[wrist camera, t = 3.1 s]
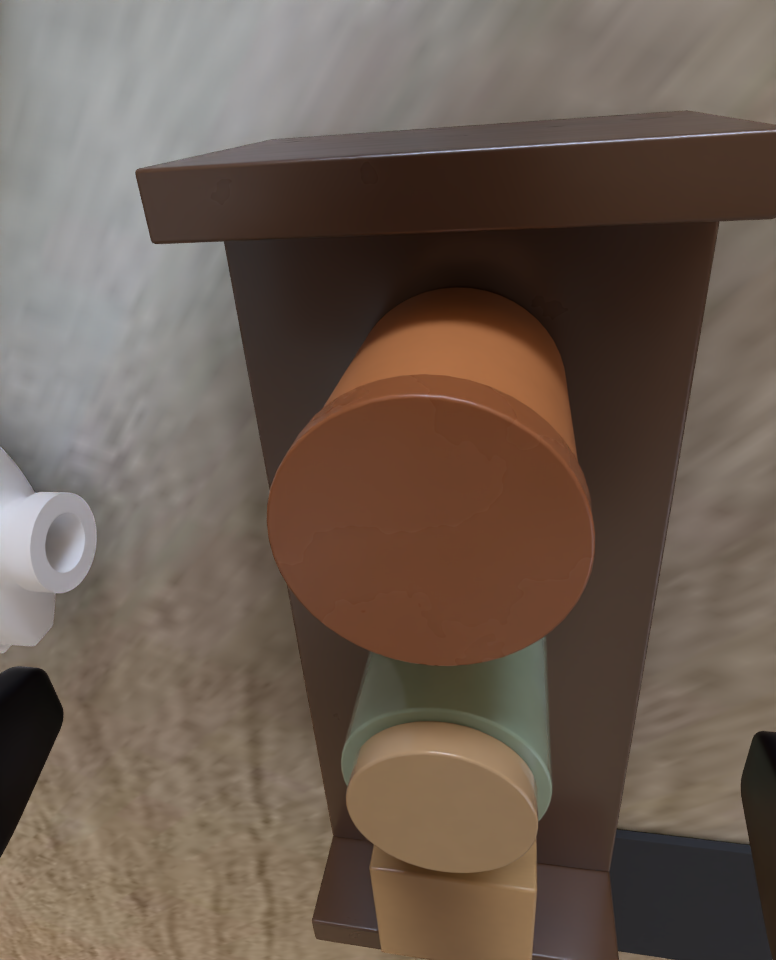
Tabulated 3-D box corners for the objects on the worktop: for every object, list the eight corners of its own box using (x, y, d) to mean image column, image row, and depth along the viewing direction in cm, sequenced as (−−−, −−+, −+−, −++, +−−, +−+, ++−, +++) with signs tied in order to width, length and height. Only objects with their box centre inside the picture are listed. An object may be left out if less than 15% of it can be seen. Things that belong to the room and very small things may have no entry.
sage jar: (550, 563, 17) (561, 756, 12) (542, 690, 19) (548, 895, 14) (374, 554, 18) (318, 731, 13) (387, 676, 20) (342, 866, 15)
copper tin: (579, 278, 13) (612, 395, 8) (563, 490, 16) (582, 678, 11) (339, 284, 14) (238, 393, 9) (360, 483, 17) (289, 656, 12)
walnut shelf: (690, 110, 15) (797, 127, 9) (596, 791, 27) (616, 988, 21) (269, 139, 17) (132, 168, 11) (357, 765, 29) (315, 940, 23)
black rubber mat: (811, 851, 27) (814, 861, 26) (763, 964, 31) (766, 974, 31) (579, 824, 28) (580, 833, 28) (566, 935, 33) (566, 943, 33)
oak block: (535, 746, 21) (537, 892, 17) (529, 832, 23) (530, 977, 19) (395, 733, 21) (368, 869, 18) (403, 816, 24) (380, 953, 20)
